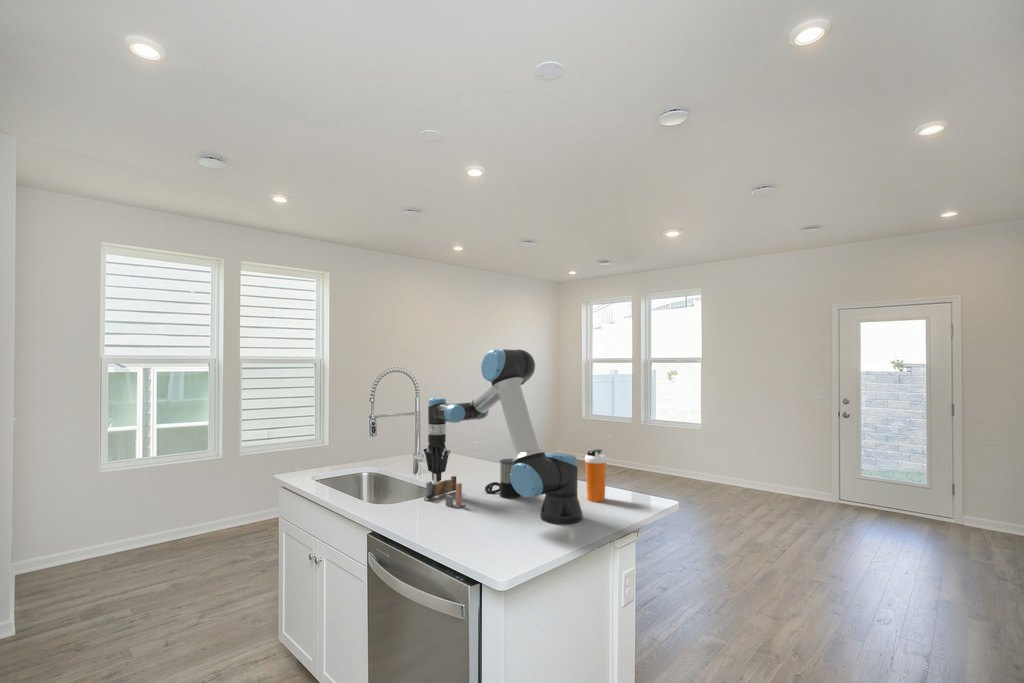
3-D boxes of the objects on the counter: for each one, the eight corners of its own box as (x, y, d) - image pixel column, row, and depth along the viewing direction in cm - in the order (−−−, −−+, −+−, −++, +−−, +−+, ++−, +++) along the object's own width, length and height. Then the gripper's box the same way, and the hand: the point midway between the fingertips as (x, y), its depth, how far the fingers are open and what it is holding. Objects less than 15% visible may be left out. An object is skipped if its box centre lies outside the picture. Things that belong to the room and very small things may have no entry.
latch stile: (465, 506, 195) (465, 483, 195) (458, 508, 191) (458, 485, 192) (452, 503, 199) (452, 480, 199) (445, 505, 195) (445, 482, 196)
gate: (433, 497, 205) (434, 482, 205) (430, 496, 206) (431, 481, 206) (456, 490, 216) (456, 476, 216) (453, 489, 217) (453, 475, 217)
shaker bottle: (610, 498, 205) (609, 450, 206) (602, 503, 198) (601, 453, 199) (590, 495, 210) (590, 448, 211) (581, 500, 203) (581, 451, 203)
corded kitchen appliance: (521, 498, 206) (521, 462, 206) (483, 498, 206) (483, 462, 206) (521, 490, 220) (521, 456, 220) (485, 489, 220) (485, 456, 221)
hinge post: (436, 499, 205) (436, 482, 205) (429, 501, 201) (429, 484, 201) (429, 497, 207) (429, 480, 207) (421, 499, 204) (421, 482, 204)
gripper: (419, 433, 216) (419, 488, 215) (444, 435, 210) (443, 492, 209) (430, 431, 223) (429, 484, 222) (454, 433, 217) (454, 488, 216)
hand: (436, 488), depth 215 cm, fingers closed
